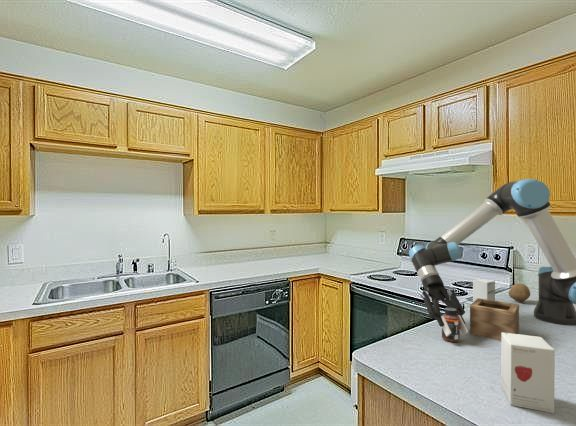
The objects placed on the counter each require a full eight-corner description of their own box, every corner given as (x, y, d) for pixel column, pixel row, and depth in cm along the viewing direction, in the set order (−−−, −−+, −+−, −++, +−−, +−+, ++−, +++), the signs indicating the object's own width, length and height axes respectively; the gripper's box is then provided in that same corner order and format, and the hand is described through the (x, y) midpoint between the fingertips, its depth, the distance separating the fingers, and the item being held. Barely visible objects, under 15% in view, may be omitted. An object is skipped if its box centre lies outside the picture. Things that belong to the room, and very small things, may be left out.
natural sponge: (533, 305, 162) (533, 285, 162) (512, 303, 165) (512, 284, 165) (527, 301, 170) (527, 282, 170) (507, 299, 174) (507, 281, 174)
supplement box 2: (509, 406, 78) (509, 344, 78) (500, 387, 86) (500, 331, 86) (556, 414, 75) (555, 349, 75) (541, 394, 83) (541, 335, 83)
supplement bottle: (462, 343, 115) (462, 311, 115) (444, 342, 116) (444, 310, 116) (456, 337, 121) (456, 307, 121) (439, 335, 122) (439, 306, 122)
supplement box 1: (487, 308, 158) (487, 282, 158) (472, 304, 164) (472, 279, 164) (495, 306, 161) (495, 280, 161) (480, 302, 168) (480, 278, 168)
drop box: (519, 332, 125) (518, 304, 125) (514, 343, 115) (514, 312, 115) (478, 324, 135) (478, 298, 135) (470, 333, 124) (470, 305, 124)
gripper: (447, 283, 135) (475, 337, 119) (405, 285, 133) (428, 340, 116) (455, 273, 130) (486, 327, 114) (412, 274, 127) (437, 330, 111)
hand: (457, 334), depth 115 cm, fingers closed on supplement bottle, 6 cm apart
